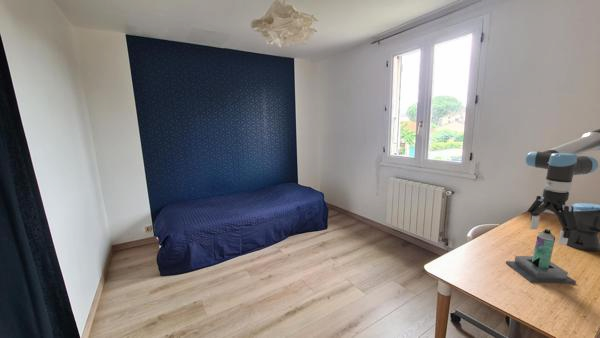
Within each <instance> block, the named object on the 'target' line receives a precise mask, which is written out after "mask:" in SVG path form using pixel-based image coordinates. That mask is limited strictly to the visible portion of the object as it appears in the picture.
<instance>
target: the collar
mask: <svg viewBox="0 0 600 338" xmlns="http://www.w3.org/2000/svg"><path fill="white" fill-rule="evenodd" d="M532 259H533V256H531V255H529V256H527V255H515V257H514V260H513V261H511V260H510V261H509V260H506V261H505V264H506V265H508V266H509V267H511V269H513V270H514V271H516V272H517V273H518V274H519V275H521V276H522V277H523V278H524V279H526V280H527V281H528V282H530V283H543V284H544V283H545V284H549V283H550V284H572V285H573V284H575V285H576V284H577V281H576V280H574V279H573V278H572V277H570V276H568V274H569V272H568V271H567V270H565V269H563V268H561V267H560V266H558V265H557V264H555V263H554V262H552V261H550V264H549V268H538V267H537V266H535V265H534V264H532Z"/></svg>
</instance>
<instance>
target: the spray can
mask: <svg viewBox="0 0 600 338" xmlns="http://www.w3.org/2000/svg"><path fill="white" fill-rule="evenodd" d="M555 242H556V236H555V235H553V234H552V232H551V229H547V228H546V229H544V231H543V230H542V231H541V232H538V234H537V237H536V241H535V246H534V249H533V259H532V264H534V265H535V266H537V267H538V268H549V264H550V262H551V259H552V253H553V250H554V246H555Z"/></svg>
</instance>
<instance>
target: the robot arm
mask: <svg viewBox="0 0 600 338" xmlns="http://www.w3.org/2000/svg"><path fill="white" fill-rule="evenodd" d="M597 151H600V128H599V129H595V130H592V131H589V132H587V133H584V134H583V135H581V137H579V138H576V139H574V140H571V141H569V142H566V143H563V144H560V145H558V146H555V147H553V148H550V149H547V150H544V151H536V150H535V151H534V150H533V151H530V152H528V154H527V155H526V156H525V163H526V165H527V166H529V167H532V168H537V169H543V170H547V171H546V176H545V181H544V186H543V187H544V188H543V192H542V195H536V198H535V200H534V202H533V203H532V204H531V205H530V207H528V209H527V213H530V225H529V226H530V227H529V229H530V230H538V227H539V222H540V218H541V215H540V214H542V213H543V212H545V211H551V212H552V213H554V215H556V216H557V219H558V221H559V223H560V225H561V227H562V228H561V229H560V233H559V236H558V237H559V238H558V241H557V244H558V245H562V246H563V245H566V246H569V247H571V248H574V249H578V250H582V251H587V252H599V251H600V236H599V234H600V204H596V203H590V202H589V203H587V202H586V203H585V202H576V203H573V204H572V205H566V202H567V201H568V200H569V197H570V191H571V187H572V182H573V177H574V176H579V175H588V174H591V173H593V172H596V170H597V169H598V168H599V162H598V160H597V159H596V158H595V157H593V156H589V155H585V154H587V153H590V152H597Z"/></svg>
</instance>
